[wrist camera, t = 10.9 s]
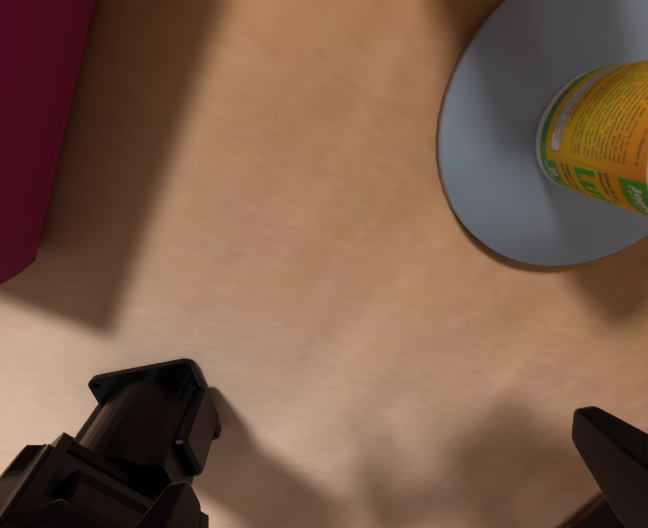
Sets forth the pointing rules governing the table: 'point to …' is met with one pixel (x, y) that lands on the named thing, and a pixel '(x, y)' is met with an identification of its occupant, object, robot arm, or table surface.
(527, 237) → the slate dish
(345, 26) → the table surface
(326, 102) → the table surface
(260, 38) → the table surface
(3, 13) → the book
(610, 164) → the supplement bottle
